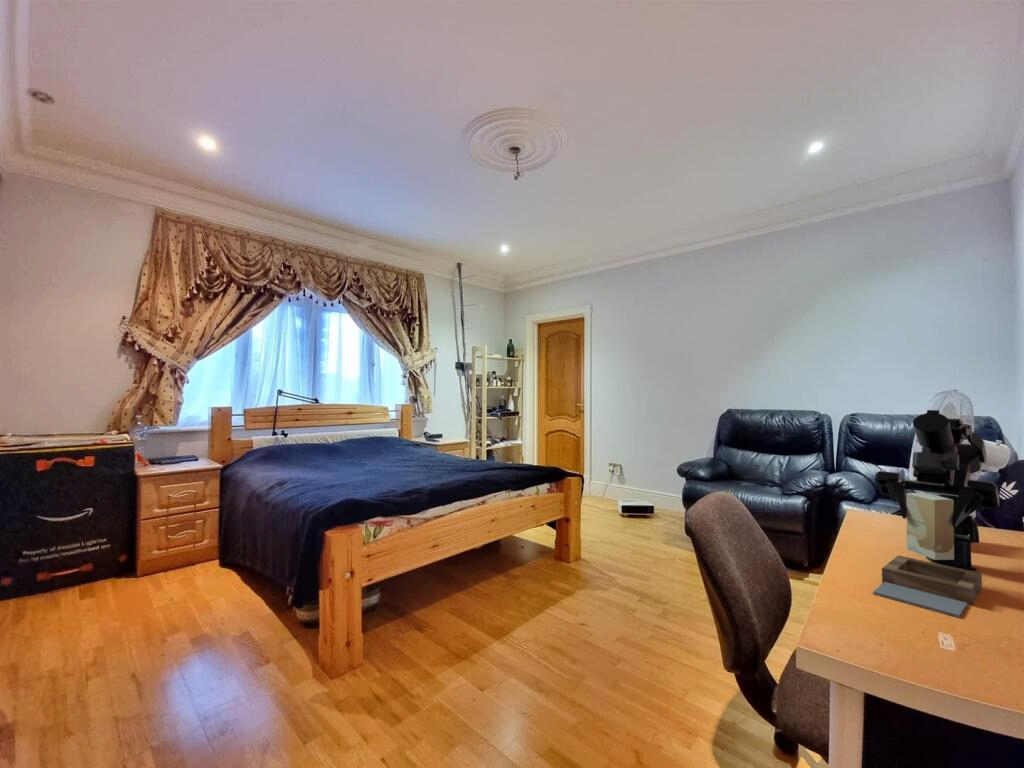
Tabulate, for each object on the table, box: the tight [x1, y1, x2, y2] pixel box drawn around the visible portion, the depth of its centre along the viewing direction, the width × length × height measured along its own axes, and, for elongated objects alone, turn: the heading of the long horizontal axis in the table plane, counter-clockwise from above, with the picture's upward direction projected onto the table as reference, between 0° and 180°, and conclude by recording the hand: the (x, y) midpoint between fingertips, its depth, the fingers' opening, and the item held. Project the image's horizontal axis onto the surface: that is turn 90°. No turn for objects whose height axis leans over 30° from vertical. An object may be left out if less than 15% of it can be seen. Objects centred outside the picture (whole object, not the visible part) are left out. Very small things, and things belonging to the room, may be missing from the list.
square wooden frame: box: [881, 555, 983, 607], centre depth 91 cm, size 13×13×3 cm
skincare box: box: [906, 492, 954, 560], centre depth 91 cm, size 6×4×12 cm
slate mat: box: [872, 582, 968, 619], centre depth 84 cm, size 8×12×1 cm, turn 37°
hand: (927, 521), depth 91 cm, fingers closed on skincare box, 7 cm apart
